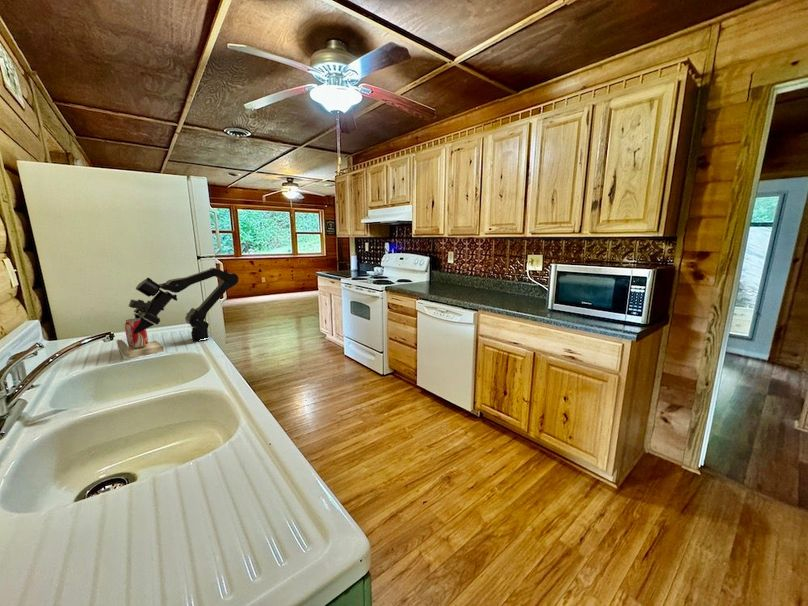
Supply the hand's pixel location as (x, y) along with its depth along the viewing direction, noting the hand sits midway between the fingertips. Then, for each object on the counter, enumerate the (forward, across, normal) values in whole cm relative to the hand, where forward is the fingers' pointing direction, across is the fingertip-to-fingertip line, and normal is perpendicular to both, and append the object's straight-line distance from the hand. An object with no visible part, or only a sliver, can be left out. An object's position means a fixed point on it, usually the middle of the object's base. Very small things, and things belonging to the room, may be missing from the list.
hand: (132, 331), depth 142 cm
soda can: (+4, 0, +6) cm, 7 cm away
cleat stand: (+5, 0, +9) cm, 10 cm away
